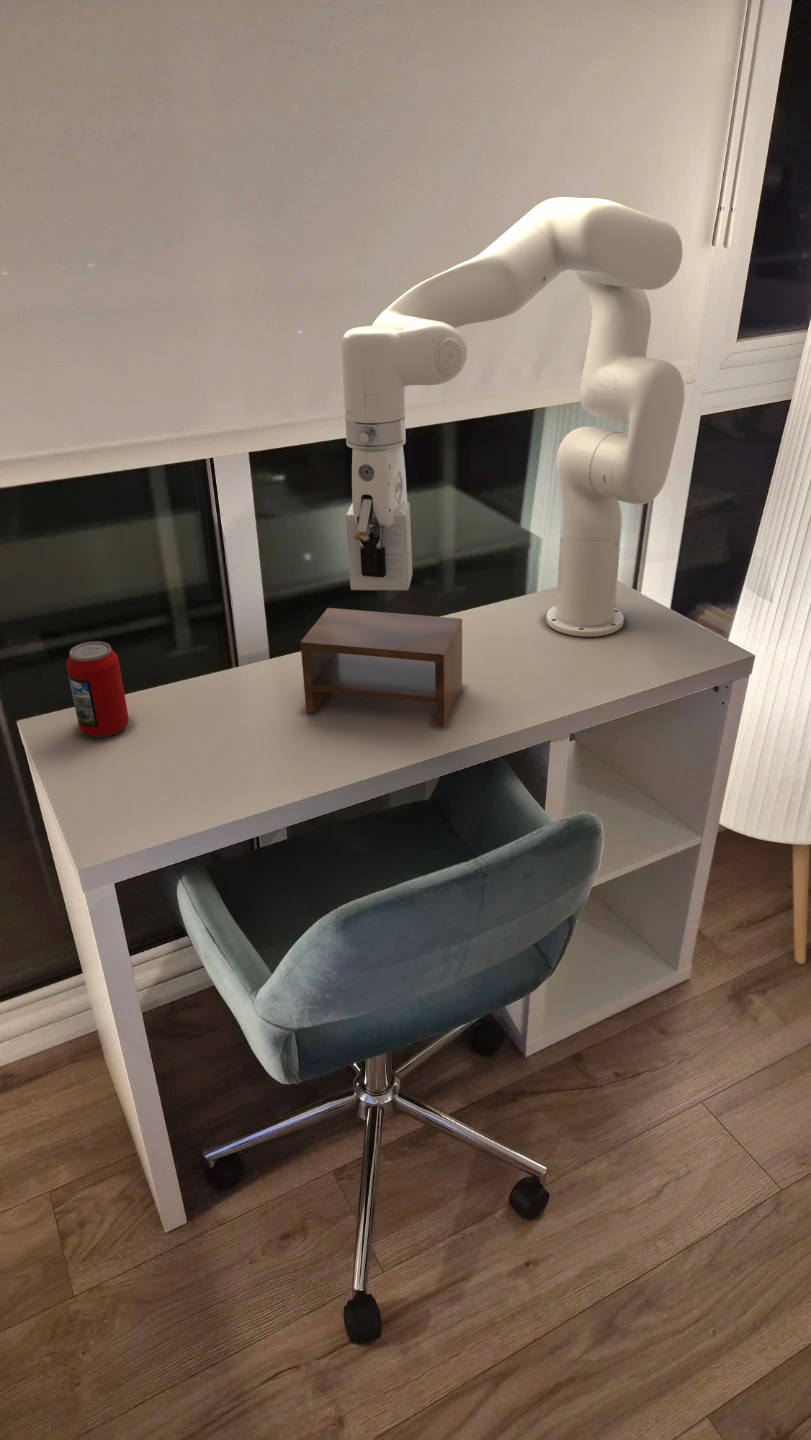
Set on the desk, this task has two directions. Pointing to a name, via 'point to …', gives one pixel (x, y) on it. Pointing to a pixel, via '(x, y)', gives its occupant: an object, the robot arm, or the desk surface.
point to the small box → (395, 553)
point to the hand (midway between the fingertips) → (380, 565)
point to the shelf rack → (384, 658)
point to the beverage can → (97, 689)
